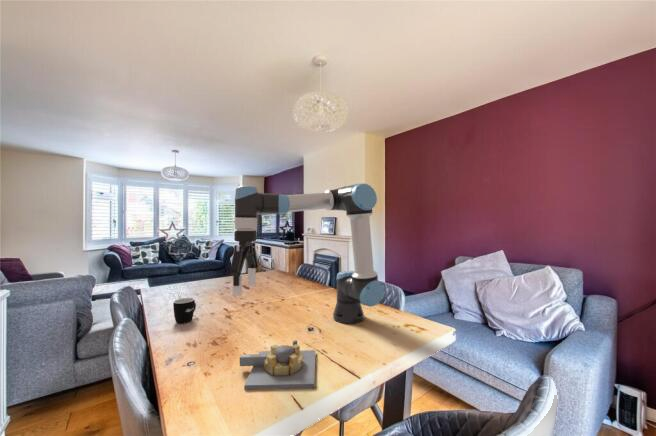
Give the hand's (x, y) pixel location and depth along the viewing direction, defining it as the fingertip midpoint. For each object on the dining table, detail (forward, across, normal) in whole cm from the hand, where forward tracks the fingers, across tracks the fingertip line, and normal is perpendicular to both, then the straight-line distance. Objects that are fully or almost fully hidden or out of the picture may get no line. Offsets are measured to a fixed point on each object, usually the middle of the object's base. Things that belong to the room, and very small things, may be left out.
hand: (244, 290), depth 95 cm
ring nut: (+22, +7, +12) cm, 26 cm away
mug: (+24, -34, -41) cm, 58 cm away
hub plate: (+24, +6, +16) cm, 29 cm away
